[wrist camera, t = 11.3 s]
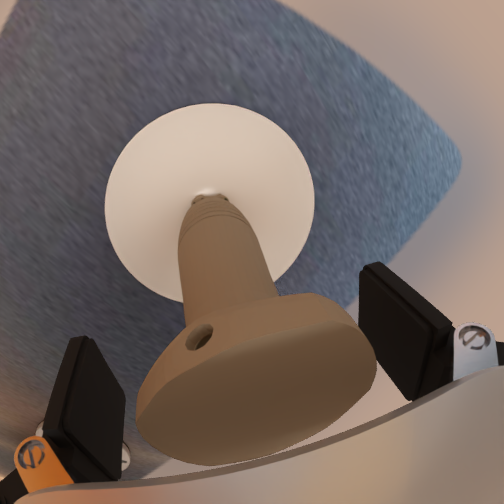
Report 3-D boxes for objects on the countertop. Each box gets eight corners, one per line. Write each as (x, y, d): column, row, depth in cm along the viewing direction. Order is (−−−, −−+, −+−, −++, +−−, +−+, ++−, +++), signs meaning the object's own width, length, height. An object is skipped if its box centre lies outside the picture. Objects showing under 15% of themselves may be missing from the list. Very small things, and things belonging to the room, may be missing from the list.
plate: (313, 270, 26) (320, 279, 24) (143, 311, 24) (142, 322, 23) (293, 89, 20) (301, 88, 18) (87, 134, 18) (80, 136, 17)
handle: (270, 217, 22) (391, 390, 8) (190, 268, 22) (211, 477, 9) (232, 156, 19) (340, 280, 6) (147, 213, 20) (98, 413, 6)
